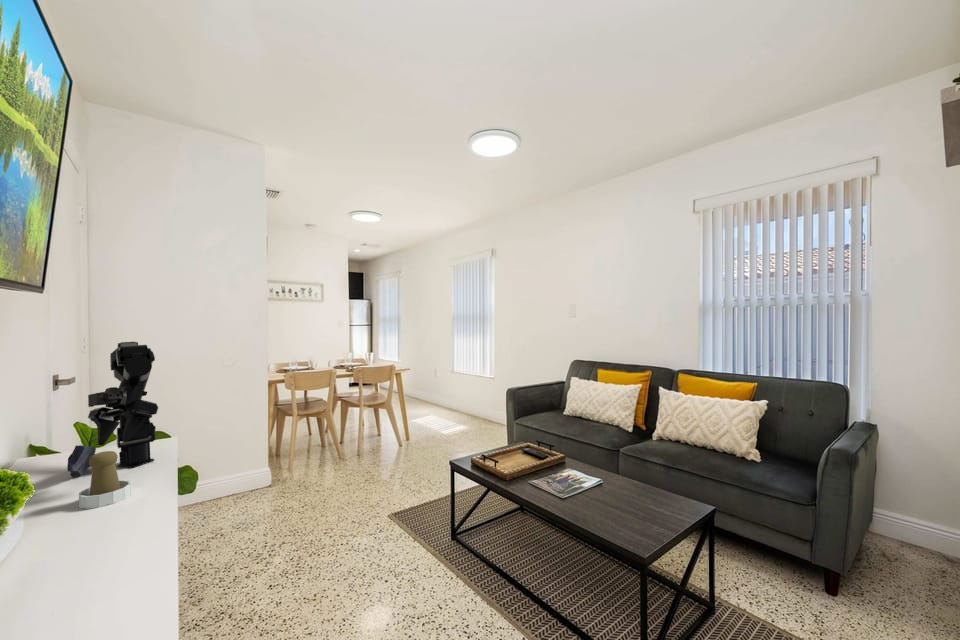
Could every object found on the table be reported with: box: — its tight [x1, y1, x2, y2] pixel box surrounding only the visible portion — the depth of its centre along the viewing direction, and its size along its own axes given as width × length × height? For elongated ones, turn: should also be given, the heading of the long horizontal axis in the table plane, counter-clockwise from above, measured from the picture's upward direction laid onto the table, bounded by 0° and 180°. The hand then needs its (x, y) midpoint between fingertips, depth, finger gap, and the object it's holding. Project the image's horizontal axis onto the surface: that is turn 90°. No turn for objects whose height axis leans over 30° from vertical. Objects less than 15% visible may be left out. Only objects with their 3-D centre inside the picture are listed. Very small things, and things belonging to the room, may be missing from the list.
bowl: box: [78, 479, 132, 510], centre depth 102 cm, size 9×9×3 cm
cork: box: [89, 450, 121, 496], centre depth 102 cm, size 6×6×11 cm
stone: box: [66, 444, 97, 477], centre depth 118 cm, size 14×6×10 cm, turn 44°
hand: (112, 443), depth 110 cm, fingers open, 9 cm apart
